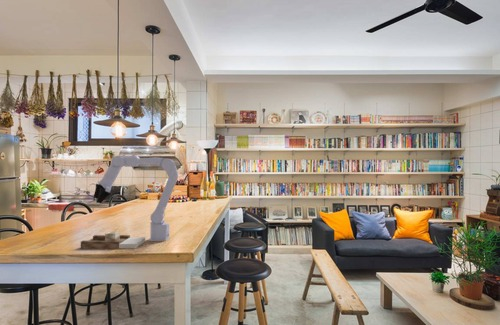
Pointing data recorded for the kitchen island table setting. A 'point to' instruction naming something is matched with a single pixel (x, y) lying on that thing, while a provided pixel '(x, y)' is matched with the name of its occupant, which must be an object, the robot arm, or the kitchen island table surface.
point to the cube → (112, 236)
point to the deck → (113, 242)
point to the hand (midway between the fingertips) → (97, 200)
